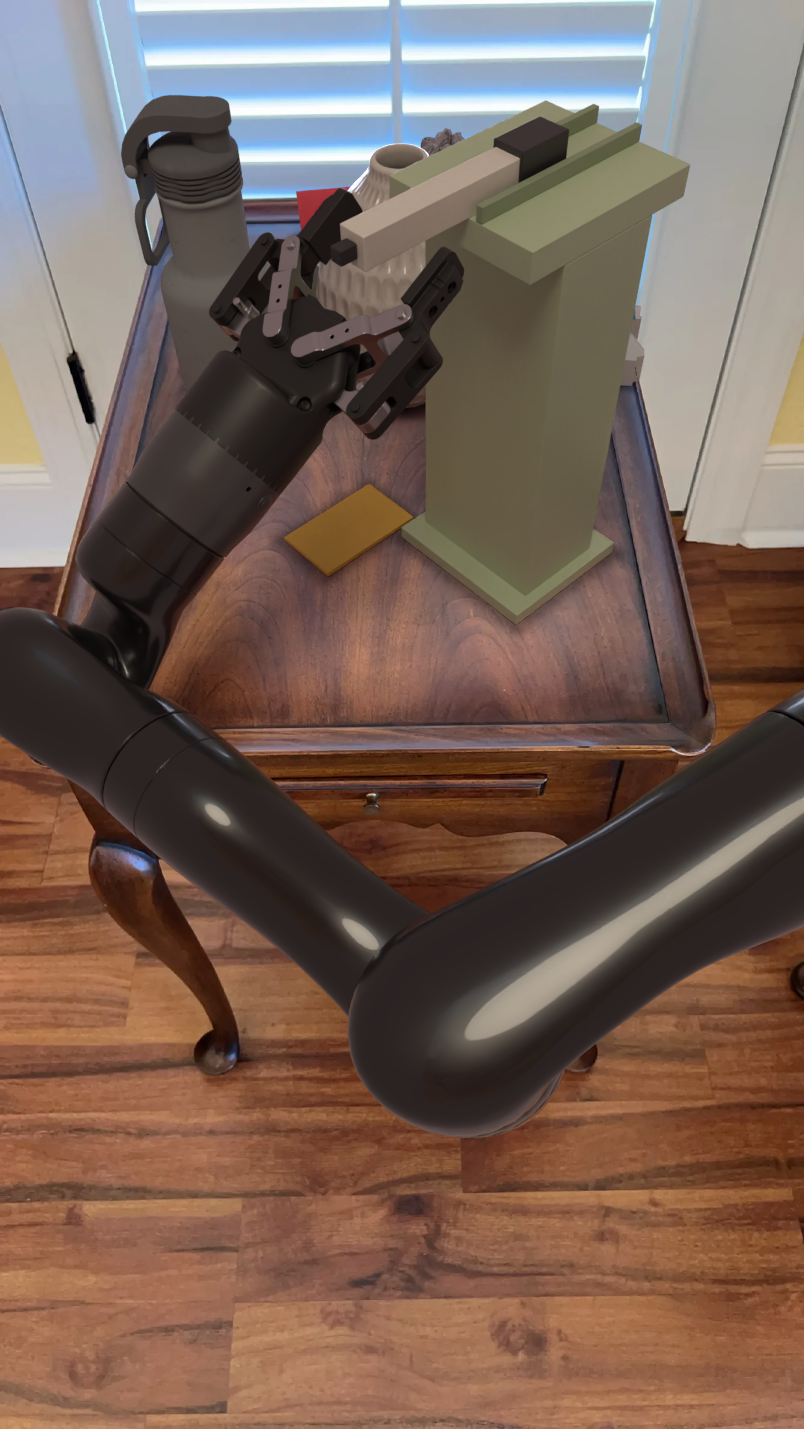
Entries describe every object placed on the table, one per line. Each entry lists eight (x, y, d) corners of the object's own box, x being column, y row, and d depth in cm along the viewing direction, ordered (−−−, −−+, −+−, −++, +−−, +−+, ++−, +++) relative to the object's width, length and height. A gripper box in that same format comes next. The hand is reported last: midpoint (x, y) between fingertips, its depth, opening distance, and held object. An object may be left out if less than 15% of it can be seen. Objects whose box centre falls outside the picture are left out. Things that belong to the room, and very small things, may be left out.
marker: (351, 282, 54) (348, 240, 52) (323, 265, 55) (319, 222, 53) (565, 170, 60) (570, 128, 58) (536, 156, 61) (540, 115, 59)
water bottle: (175, 440, 95) (95, 132, 72) (203, 377, 101) (137, 73, 78) (278, 449, 94) (230, 140, 71) (300, 385, 99) (263, 79, 77)
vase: (318, 345, 103) (294, 117, 85) (471, 331, 104) (480, 103, 86) (330, 447, 94) (307, 216, 76) (498, 430, 95) (515, 198, 77)
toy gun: (643, 361, 96) (649, 302, 101) (495, 347, 98) (509, 289, 103) (638, 388, 98) (644, 328, 104) (494, 373, 100) (508, 315, 106)
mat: (327, 576, 85) (327, 573, 84) (284, 540, 87) (283, 537, 87) (413, 519, 88) (413, 516, 88) (369, 486, 91) (369, 483, 91)
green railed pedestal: (507, 631, 81) (547, 241, 54) (392, 542, 87) (377, 152, 60) (619, 546, 86) (707, 152, 59) (504, 468, 92) (536, 78, 65)
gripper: (267, 491, 50) (470, 232, 49) (114, 367, 57) (290, 133, 55) (333, 546, 57) (513, 319, 56) (190, 429, 63) (349, 223, 62)
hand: (402, 227), depth 55 cm, fingers open, 8 cm apart
